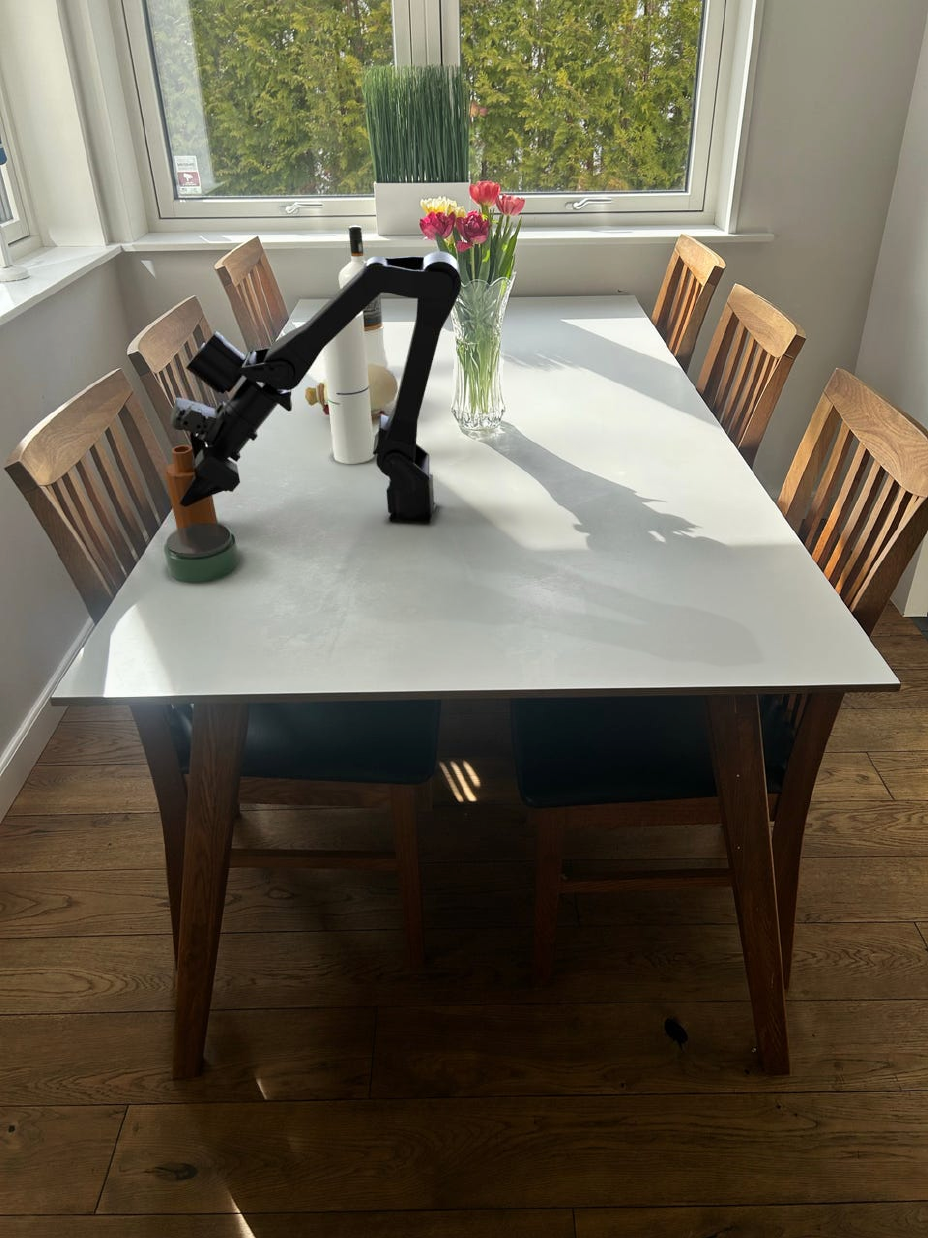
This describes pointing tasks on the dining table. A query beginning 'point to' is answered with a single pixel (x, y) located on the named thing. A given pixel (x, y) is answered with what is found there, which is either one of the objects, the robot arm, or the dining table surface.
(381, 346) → the vodka
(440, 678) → the dining table surface
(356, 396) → the cylindrical container
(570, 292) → the dining table surface
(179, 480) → the amber bottle
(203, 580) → the green jar
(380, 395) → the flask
